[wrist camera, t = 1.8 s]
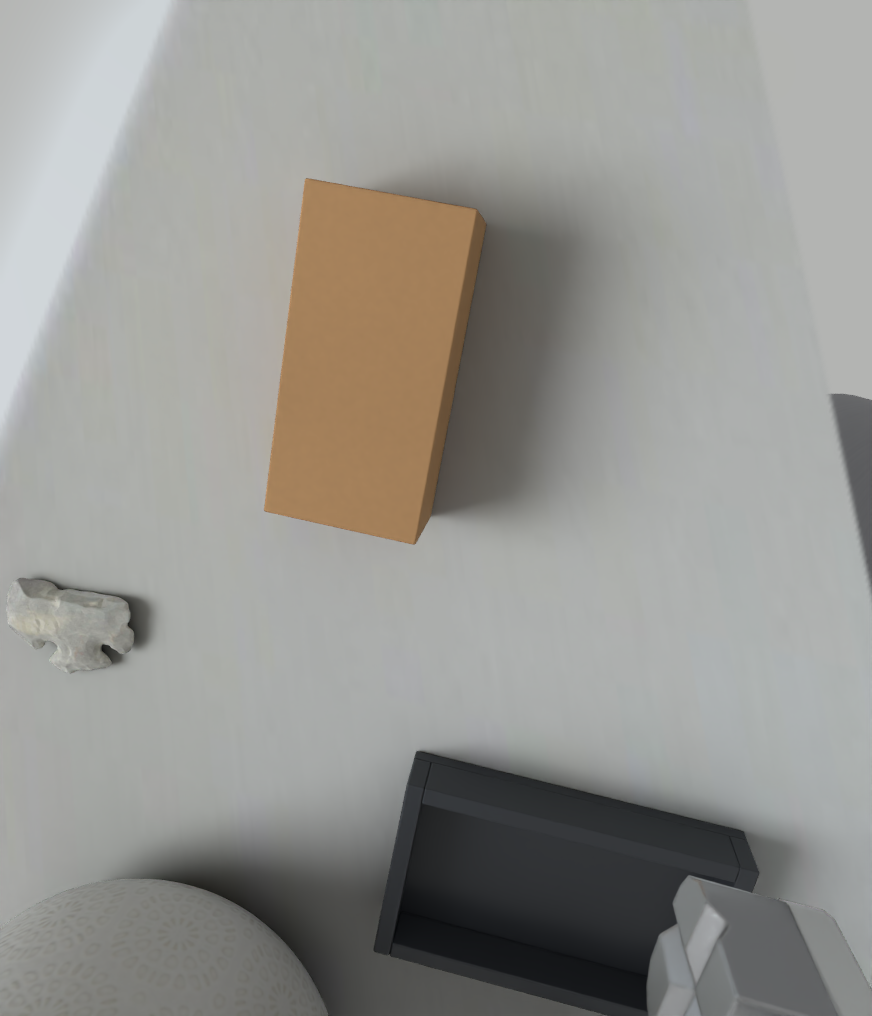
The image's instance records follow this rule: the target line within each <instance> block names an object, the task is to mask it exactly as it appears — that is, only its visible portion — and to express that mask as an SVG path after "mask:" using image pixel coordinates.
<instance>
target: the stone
mask: <svg viewBox="0 0 872 1016" xmlns="http://www.w3.org/2000/svg"><path fill="white" fill-rule="evenodd" d="M6 613H7V615H8V624H9V626H10V628H12V629H13V630H14V631H15V632H16V633H17V634H18V635H20V636H21V637H22V638H23V639H24V640H25V641H26V642H27V643H28V644H29V645H30V646H31V647H33V648H34V649H39V648H42V647H43V646H44V645H45V642H46V641H52V642H53V643H55V644H56V645H57V647H58V648H57V651H55V652H54V653H53V655H52V656H51V658H50V660H49V661H50V662H51V663H52V664H53V665H55V666H56V667H57V668H58V669H59V670H62V671H63V672H65V673H70V674H71V673H73V672H75V671H78V670H94V669H100V668H106V667H108V666H110V665H111V664H112V662H111V660H110V659H109V657H108V656H107V655H106V654H105V653H103V652H102V650H101V646H102V645H103V644H104V645H109V646H110V647H111V648H112V649H114V650H117V651H118V652H119V653H121V654H122V653H127V652H129V651H130V650H131V646H132V645H133V643H134V632H133V630H132V629H130V628H129V627H128V622H129V620H130V610H129V607H128V603H127V602H126V601H124V600H123V599H122V598H119V597H117V596H111V595H102V594H98V593H95V592H89V591H78V590H75V589H66V590H59V589H58V588H57V587H56V586H55V585H54V584H53V583H51V582H48V581H44V580H37V579H26V578H19V579H17V580H15V581H13V582H12V585H11V587H10V588H9V592H8V595H7V610H6Z"/></svg>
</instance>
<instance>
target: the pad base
mask: <svg viewBox="0 0 872 1016" xmlns="http://www.w3.org/2000/svg"><path fill="white" fill-rule="evenodd" d="M688 875H690V876H694V877H697V878H701V879H704V880H708V881H712V882H715V883H719V884H722V885H726V886H729V887H733V888H737V889H740V890H744V891H747V892H751V893H752V891H753V889H754V886H755V883H756V881H757V878H758V875H759V871H758V868H757V865H756V863H755V860H754V858H753V855H752V852H751V850H750V847H749V845H748V842H747V839H746V837H745V834H744V832H743V831H739V830H735V829H731V828H727V827H723V826H719V825H715V824H711V823H707V822H702V821H698V820H694V819H690V818H686V817H682V816H678V815H674V814H670V813H666V812H662V811H658V810H654V809H650V808H646V807H642V806H638V805H634V804H630V803H625V802H621V801H617V800H613V799H609V798H605V797H601V796H597V795H593V794H589V793H585V792H581V791H577V790H573V789H569V788H565V787H561V786H557V785H553V784H549V783H544V782H540V781H536V780H532V779H528V778H524V777H520V776H516V775H512V774H508V773H504V772H500V771H496V770H492V769H488V768H484V767H480V766H476V765H472V764H467V763H463V762H459V761H455V760H451V759H447V758H443V757H439V756H435V755H431V754H427V753H423V752H419V751H417V752H416V755H415V758H414V762H413V765H412V769H411V772H410V776H409V779H408V783H407V786H406V791H405V796H404V801H403V806H402V811H401V816H400V821H399V826H398V831H397V836H396V841H395V846H394V851H393V856H392V861H391V865H390V870H389V875H388V880H387V885H386V890H385V895H384V900H383V905H382V910H381V915H380V920H379V925H378V930H377V935H376V940H375V944H374V952H377V953H381V954H384V955H389V954H390V956H391V957H395V958H399V959H402V960H406V961H410V962H413V963H417V964H421V965H424V966H428V967H432V968H435V969H439V970H443V971H446V972H450V973H454V974H457V975H461V976H465V977H468V978H472V979H476V980H479V981H483V982H487V983H491V984H494V985H498V986H502V987H505V988H509V989H513V990H516V991H520V992H524V993H527V994H531V995H535V996H538V997H542V998H546V999H549V1000H553V1001H557V1002H560V1003H564V1004H568V1005H571V1006H575V1007H579V1008H582V1009H586V1010H590V1011H593V1012H597V1013H601V1014H604V1015H608V1016H648V1010H647V992H646V984H647V977H648V970H649V964H650V958H651V955H652V952H653V950H654V947H655V944H656V942H657V939H658V936H659V934H661V933H662V932H664V931H666V930H667V929H669V928H671V927H672V926H674V925H676V924H677V920H676V916H675V912H674V908H673V904H672V902H673V900H674V898H675V896H676V893H677V891H678V889H679V886H680V884H681V883H682V882H683V881H684V880H685V879H686V878H687V876H688Z"/></svg>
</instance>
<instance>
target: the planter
mask: <svg viewBox="0 0 872 1016" xmlns="http://www.w3.org/2000/svg"><path fill="white" fill-rule="evenodd" d="M0 1016H329V1015H328V1012H327V1009H326V1007H325V1004H324V1002H323V1000H322V998H321V996H320V994H319V992H318V990H317V988H316V986H315V984H314V982H313V980H312V979H311V977H310V975H309V974H308V972H307V971H306V969H305V968H304V966H303V965H302V963H301V962H300V961H299V959H298V958H297V957H296V955H295V954H294V953H293V951H292V950H291V949H290V948H289V947H288V946H287V945H286V944H285V942H284V941H283V940H282V939H281V938H280V937H279V936H278V935H277V934H276V933H275V932H274V931H273V930H271V929H270V928H269V927H268V926H267V925H266V924H264V923H263V922H262V921H261V920H259V919H258V918H257V917H255V916H254V915H253V914H251V913H250V912H248V911H247V910H245V909H244V908H242V907H240V906H239V905H237V904H235V903H233V902H231V901H229V900H228V899H226V898H223V897H221V896H219V895H217V894H214V893H212V892H209V891H207V890H204V889H201V888H198V887H194V886H191V885H187V884H182V883H177V882H172V881H166V880H158V879H117V880H108V881H101V882H96V883H91V884H87V885H83V886H80V887H76V888H73V889H70V890H67V891H64V892H61V893H59V894H56V895H54V896H52V897H50V898H48V899H46V900H44V901H42V902H39V903H37V904H36V905H34V906H32V907H30V908H29V909H27V910H25V911H24V912H22V913H20V914H19V915H17V916H16V917H14V918H13V919H11V920H10V921H9V922H7V923H6V924H4V925H3V926H2V927H0Z"/></svg>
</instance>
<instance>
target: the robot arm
mask: <svg viewBox="0 0 872 1016" xmlns="http://www.w3.org/2000/svg"><path fill="white" fill-rule="evenodd" d="M672 904H673V908H674V912H675V916H676V920H677V924H676V925H674V926H672V927H671V928H669V929H667V930H666V931H664V932H662V933H661V934H659V936H658V939H657V942H656V944H655V947H654V950H653V952H652V955H651V958H650V964H649V970H648V977H647V984H646V992H647V1010H648V1016H872V989H871V987H870V986H869V984H868V982H867V980H866V978H865V976H864V974H863V972H862V970H861V968H860V966H859V965H858V963H857V961H856V959H855V957H854V955H853V953H852V951H851V949H850V947H849V946H848V944H847V942H846V940H845V938H844V936H843V934H842V932H841V930H840V928H839V926H838V925H837V923H836V921H835V920H834V918H832V917H831V916H830V915H829V914H828V913H827V912H826V911H825V910H822V909H818V908H814V907H810V906H806V905H802V904H798V903H794V902H790V901H786V900H782V899H777V900H776V899H772V898H769V897H765V896H761V895H758V894H754V893H751V892H747V891H744V890H740V889H737V888H733V887H729V886H726V885H722V884H719V883H715V882H712V881H708V880H704V879H701V878H697V877H694V876H690V875H688V876H687V878H686V879H685V880H684V881H683V882H682V883H681V884H680V886H679V889H678V891H677V893H676V896H675V898H674V900H673V902H672Z"/></svg>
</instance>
